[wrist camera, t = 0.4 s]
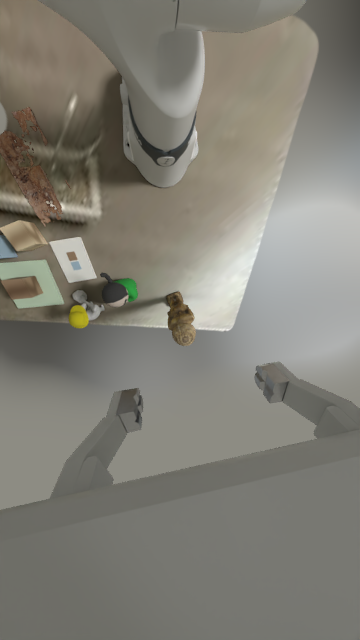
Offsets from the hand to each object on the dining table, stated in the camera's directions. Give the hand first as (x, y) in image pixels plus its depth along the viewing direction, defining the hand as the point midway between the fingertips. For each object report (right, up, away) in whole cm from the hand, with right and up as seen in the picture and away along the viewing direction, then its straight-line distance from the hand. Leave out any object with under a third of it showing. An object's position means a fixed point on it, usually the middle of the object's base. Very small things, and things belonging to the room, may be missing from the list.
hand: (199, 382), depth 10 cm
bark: (-37, +41, +28) cm, 61 cm away
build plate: (-49, +16, +38) cm, 64 cm away
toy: (-21, +17, +41) cm, 49 cm away
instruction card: (-34, +23, +36) cm, 55 cm away
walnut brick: (-48, +15, +37) cm, 63 cm away
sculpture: (-4, +13, +46) cm, 48 cm away
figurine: (-32, +11, +42) cm, 55 cm away
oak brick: (-44, +28, +33) cm, 61 cm away
